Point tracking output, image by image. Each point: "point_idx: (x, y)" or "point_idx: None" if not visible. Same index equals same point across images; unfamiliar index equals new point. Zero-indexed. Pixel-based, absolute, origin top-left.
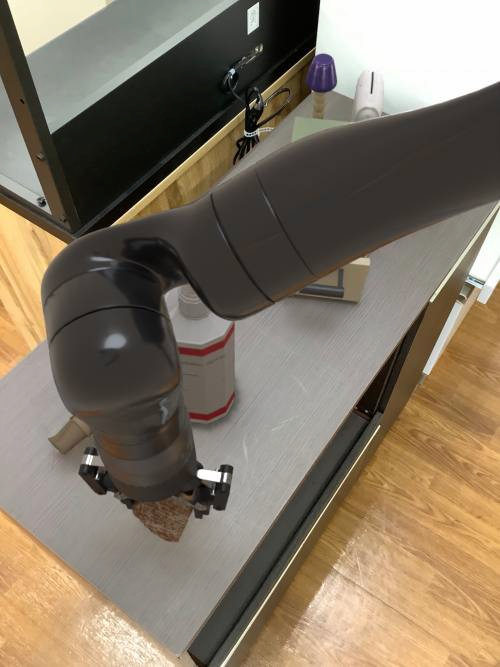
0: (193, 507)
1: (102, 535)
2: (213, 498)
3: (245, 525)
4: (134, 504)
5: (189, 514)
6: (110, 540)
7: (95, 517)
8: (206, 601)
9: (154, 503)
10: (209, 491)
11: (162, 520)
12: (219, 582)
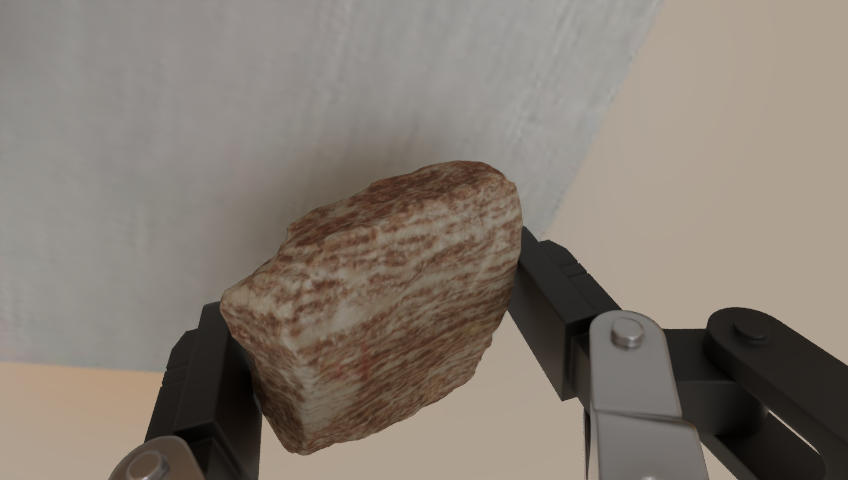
0: (561, 396)
1: (170, 293)
2: (713, 424)
3: (557, 120)
4: (271, 417)
5: (495, 329)
6: (202, 294)
7: (109, 262)
8: None
9: (365, 410)
10: (688, 401)
11: (410, 402)
12: None
